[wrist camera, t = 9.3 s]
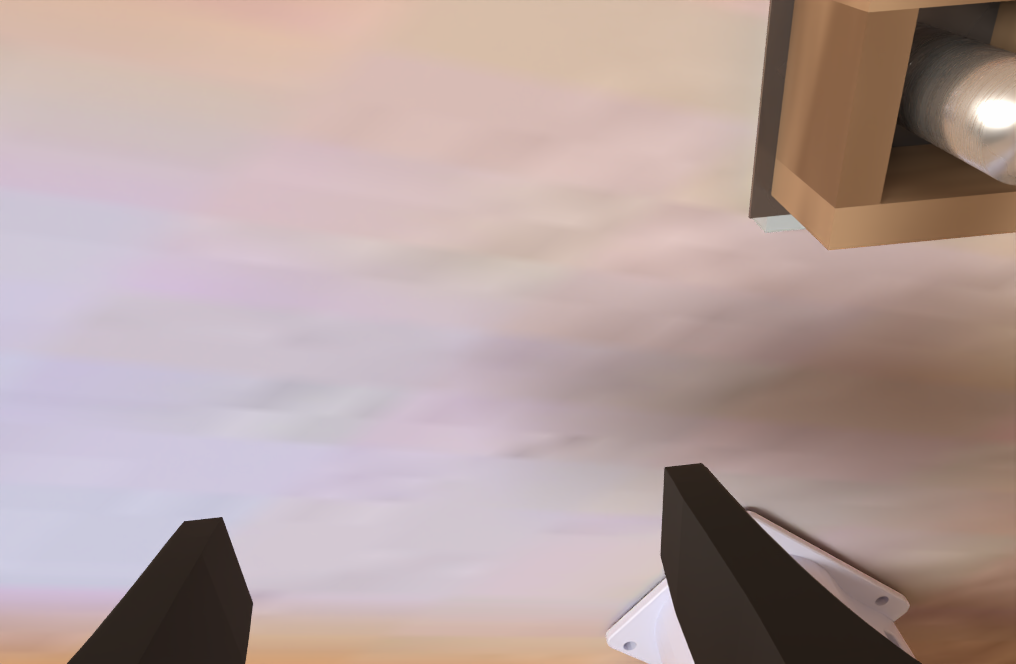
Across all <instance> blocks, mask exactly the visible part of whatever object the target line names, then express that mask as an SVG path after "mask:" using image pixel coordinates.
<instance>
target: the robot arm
mask: <svg viewBox="0 0 1016 664" xmlns="http://www.w3.org/2000/svg"><path fill="white" fill-rule="evenodd" d="M661 559H662V563H663V567H664V571H665V575H666V578H665V579H664V580H663V581H662V582H661V583H660V584H659V585H657V586H656V587H655V588H654V589H653V590H652V591H651V592H650V593H649V594H648V595H646V596H645V597H644V598H643V599H642V600H641V601H640V602H639V603H638V604H637V605H635V606H634V607H633V608H632V609H631V610H630V611H629V612H628V613H627V614H626V615H624V616H623V617H622V618H621V619H620V620H619V621H618V622H617V623H616V624H615V625H613V626H612V627H611V628H610V629H609V630H608V631H607V633H606V640H607V643H608V645H609V646H610V647H611V648H613V649H615V650H618V651H620V652H623V653H625V654H627V655H630V656H632V657H634V658H637V659H639V660H642V661H644V662H646V663H649V664H921V663H920V662H919V661H917V660H916V658H915V656H914V655H913V653H912V651H911V650H910V648H909V646H908V645H907V643H906V642H905V640H904V638H903V637H902V635H901V633H900V632H899V630H898V629H897V627H896V625H895V624H894V621H896V620H897V619H898V618H900V617H901V616H902V615H904V614H905V613H906V612H907V611H908V609H909V607H910V604H909V602H908V601H907V599H906V597H905V596H904V595H902V594H900V593H899V592H897V591H895V590H893V589H891V588H890V587H888V586H886V585H884V584H882V583H881V582H879V581H877V580H875V579H873V578H872V577H870V576H868V575H866V574H864V573H863V572H861V571H859V570H857V569H855V568H854V567H852V566H850V565H848V564H846V563H845V562H843V561H841V560H839V559H837V558H836V557H834V556H832V555H830V554H828V553H827V552H825V551H823V550H821V549H819V548H818V547H816V546H814V545H812V544H810V543H809V542H807V541H805V540H803V539H801V538H800V537H798V536H796V535H794V534H792V533H791V532H789V531H787V530H785V529H783V528H782V527H780V526H778V525H776V524H774V523H773V522H771V521H769V520H767V519H765V518H764V517H762V516H760V515H758V514H756V513H755V512H752V511H746V510H745V509H744V508H743V507H742V506H741V505H740V504H739V503H738V502H737V501H736V499H735V498H734V497H733V496H732V495H731V494H730V493H729V492H728V491H727V490H726V489H725V487H724V486H723V485H722V484H721V483H720V482H719V481H718V480H717V478H716V477H715V476H714V475H713V474H712V473H711V472H710V471H709V469H708V468H707V467H705V466H704V465H703V464H702V463H699V464H690V465H681V466H672V467H665V471H664V492H663V513H662V534H661ZM252 606H253V602H252V599H251V596H250V594H249V591H248V588H247V585H246V582H245V580H244V577H243V574H242V571H241V568H240V566H239V563H238V560H237V557H236V554H235V552H234V549H233V546H232V543H231V540H230V537H229V535H228V532H227V529H226V526H225V523H224V521H223V518H222V517H219V518H210V519H201V520H193V521H184V522H183V523H182V525H181V526H180V527H179V528H178V529H177V531H176V532H175V533H174V534H173V535H172V537H171V538H170V539H169V540H168V542H167V543H166V544H165V545H164V547H163V548H162V549H161V550H160V552H159V553H158V554H157V556H156V557H155V558H154V559H153V561H152V562H151V563H150V564H149V566H148V567H147V568H146V569H145V571H144V572H143V573H142V575H141V576H140V577H139V578H138V580H137V581H136V582H135V583H134V585H133V586H132V587H131V588H130V590H129V591H128V592H127V593H126V595H125V596H124V597H123V598H122V599H121V601H120V602H119V603H118V604H117V606H116V607H115V608H114V609H113V610H112V612H111V613H110V614H109V615H108V616H107V618H106V619H105V620H104V621H103V622H102V624H101V625H100V626H99V627H98V629H97V630H96V631H95V632H94V633H93V635H92V636H91V637H90V638H89V639H88V640H87V642H86V643H85V644H84V645H83V646H82V647H81V648H80V650H79V651H78V652H77V653H76V654H75V655H74V656H73V657H72V658H71V660H70V661H69V662H68V663H67V664H245V661H246V654H247V647H248V640H249V632H250V624H251V615H252Z"/></svg>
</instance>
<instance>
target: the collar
mask: <svg viewBox="0 0 1016 664" xmlns="http://www.w3.org/2000/svg"><path fill="white" fill-rule="evenodd" d="M999 1H1001V2H1000V6H999V10H998V14H997V18H996V22H995V26H994V30H993V34H992V38H991V42H990V45H992V46H995V47H998V48H1001V49H1004V50H1008V51H1011V52H1014V53H1016V0H795V2H794V10H793V18H792V26H791V35H790V43H789V51H788V60H787V68H786V76H785V84H784V93H783V101H782V109H781V118H780V126H779V134H778V142H777V151H776V159H775V167H774V176H773V184H772V192H771V195H772V196H773V197H774V198H775V199H776V200H777V201H778V202H779V203H780V204H781V205H782V206H783V207H784V208H785V209H786V210H787V211H788V212H789V213H790V214H791V215H792V216H793V217H794V218H795V219H796V220H798V221H799V222H800V223H801V224H802V225H803V226H804V227H805V228H806V229H807V230H808V231H809V232H810V233H811V234H812V235H813V236H814V237H815V238H816V239H817V240H818V241H819V242H820V243H821V244H822V245H823V246H824V247H825V248H827V249H828V250H836V249H846V248H857V247H867V246H877V245H888V244H898V243H909V242H919V241H929V240H940V239H950V238H961V237H971V236H981V235H992V234H1002V233H1013V232H1016V185H1009V184H1006V183H1003V182H1000V181H998V180H996V179H994V178H993V177H991V176H989V175H987V174H986V173H984V172H982V171H980V170H978V169H977V168H975V167H973V166H971V165H969V164H968V163H966V162H964V161H962V160H960V159H959V158H957V157H955V156H953V155H951V154H950V153H948V152H946V151H944V150H942V149H941V148H939V147H937V146H935V145H933V144H924V145H913V146H902V147H892V142H893V137H894V132H895V127H896V122H897V117H898V112H899V107H900V102H901V97H902V92H903V87H904V82H905V77H906V72H907V67H908V62H909V57H910V52H911V47H912V42H913V37H914V32H915V27H916V21H917V16H918V11H919V8H927V7H939V6H951V5H963V4H975V3H987V2H999Z"/></svg>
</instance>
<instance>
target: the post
mask: <svg viewBox="0 0 1016 664" xmlns="http://www.w3.org/2000/svg"><path fill="white" fill-rule="evenodd" d="M794 2H795V0H770V6H769V17H768V27H767V37H766V47H765V57H764V67H763V77H762V87H761V97H760V107H759V117H758V127H757V137H756V147H755V157H754V167H753V177H752V188H751V198H750V208H749V218H760V217H770V216H780V215H790V213H789V212H788V211H787V210H786V209H785V208H784V207H783V206H782V205H781V204H780V203H779V202H778V201H777V200H776V199H775V198H774V197H773V196H772V195H771V192H772V184H773V176H774V167H775V159H776V151H777V142H778V134H779V126H780V118H781V109H782V101H783V93H784V84H785V76H786V68H787V60H788V51H789V43H790V35H791V26H792V18H793V10H794ZM1000 2H1001V1H999V2H987V3H975V4H963V5H951V6H939V7H927V8H919V11H918V16H917V21H916V27H915V32H914V37H913V42H912V47H911V52H910V57H909V62H908V67H907V72H906V77H905V82H904V87H903V92H902V97H901V102H900V107H899V112H898V117H897V122H896V127H895V132H894V137H893V142H892V147H902V146H913V145H924V144H933V145H935V146H937V147H939V148H941V149H942V150H944V151H946V152H948V153H950V154H951V155H953V156H955V157H957V158H959V159H960V160H962V161H964V162H966V163H968V164H969V165H971V166H973V167H975V168H977V169H978V170H980V171H982V172H984V173H986V174H987V175H989V176H991V177H993V178H994V179H996V180H998V181H1000V182H1003V183H1006V184H1009V185H1016V53H1014V52H1011V51H1008V50H1004V49H1001V48H998V47H995V46H992V45H990V42H991V38H992V34H993V30H994V26H995V22H996V18H997V14H998V10H999V6H1000Z"/></svg>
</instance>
